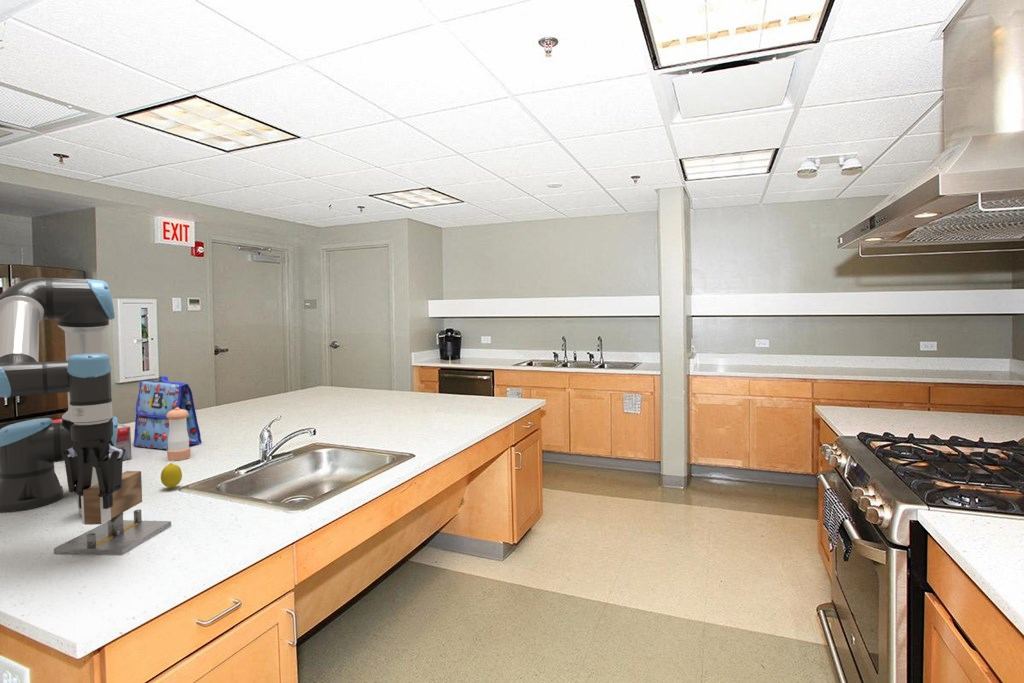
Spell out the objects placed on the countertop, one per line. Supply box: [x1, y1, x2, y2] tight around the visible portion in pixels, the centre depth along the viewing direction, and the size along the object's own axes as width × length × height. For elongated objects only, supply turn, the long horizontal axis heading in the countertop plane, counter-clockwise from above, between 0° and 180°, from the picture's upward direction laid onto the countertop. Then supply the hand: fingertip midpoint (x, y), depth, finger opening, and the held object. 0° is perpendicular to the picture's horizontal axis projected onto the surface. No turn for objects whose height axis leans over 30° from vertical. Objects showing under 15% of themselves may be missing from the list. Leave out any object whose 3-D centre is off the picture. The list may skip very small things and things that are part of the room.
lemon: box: [160, 462, 183, 489], centre depth 160 cm, size 6×6×8 cm
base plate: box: [53, 509, 172, 556], centre depth 125 cm, size 16×16×6 cm
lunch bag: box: [132, 375, 202, 451], centre depth 210 cm, size 22×14×29 cm, turn 73°
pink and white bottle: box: [166, 408, 191, 461], centre depth 192 cm, size 7×7×19 cm
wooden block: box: [83, 470, 143, 526], centre depth 124 cm, size 14×4×8 cm, turn 2°
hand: (96, 521), depth 119 cm, fingers closed on wooden block, 3 cm apart
